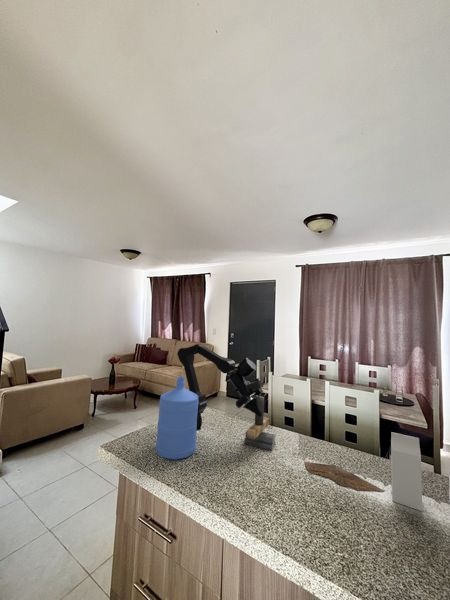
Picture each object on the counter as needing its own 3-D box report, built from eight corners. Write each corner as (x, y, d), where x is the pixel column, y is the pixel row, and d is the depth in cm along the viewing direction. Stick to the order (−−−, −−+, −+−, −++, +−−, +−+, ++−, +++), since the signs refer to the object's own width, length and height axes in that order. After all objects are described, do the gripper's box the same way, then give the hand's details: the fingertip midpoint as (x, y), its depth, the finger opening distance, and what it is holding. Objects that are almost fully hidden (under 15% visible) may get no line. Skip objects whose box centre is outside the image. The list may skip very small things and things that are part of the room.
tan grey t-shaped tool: (254, 439, 97) (256, 403, 99) (246, 437, 99) (248, 401, 101) (269, 425, 113) (270, 393, 115) (261, 423, 115) (263, 392, 116)
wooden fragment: (298, 469, 90) (298, 466, 90) (308, 458, 99) (308, 455, 99) (382, 503, 75) (382, 500, 75) (385, 486, 83) (385, 483, 83)
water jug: (184, 464, 89) (189, 384, 92) (147, 455, 94) (153, 379, 97) (201, 445, 104) (206, 376, 107) (168, 438, 109) (173, 372, 112)
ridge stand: (244, 443, 108) (244, 432, 108) (248, 438, 113) (249, 427, 114) (271, 450, 103) (272, 439, 103) (275, 444, 108) (275, 433, 109)
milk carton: (422, 512, 71) (420, 442, 73) (392, 501, 75) (391, 435, 77) (419, 498, 77) (417, 434, 79) (391, 489, 81) (390, 428, 83)
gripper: (244, 375, 102) (268, 409, 96) (260, 369, 119) (282, 398, 112) (226, 391, 105) (248, 425, 99) (244, 384, 122) (264, 412, 115)
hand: (262, 414), depth 106 cm, fingers closed on tan grey t-shaped tool, 4 cm apart
